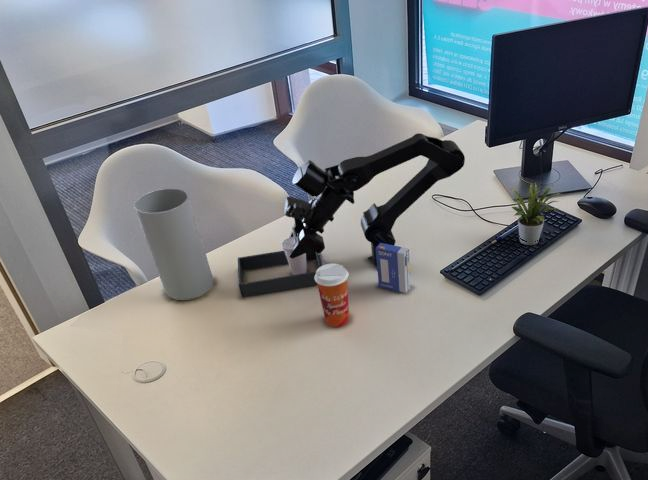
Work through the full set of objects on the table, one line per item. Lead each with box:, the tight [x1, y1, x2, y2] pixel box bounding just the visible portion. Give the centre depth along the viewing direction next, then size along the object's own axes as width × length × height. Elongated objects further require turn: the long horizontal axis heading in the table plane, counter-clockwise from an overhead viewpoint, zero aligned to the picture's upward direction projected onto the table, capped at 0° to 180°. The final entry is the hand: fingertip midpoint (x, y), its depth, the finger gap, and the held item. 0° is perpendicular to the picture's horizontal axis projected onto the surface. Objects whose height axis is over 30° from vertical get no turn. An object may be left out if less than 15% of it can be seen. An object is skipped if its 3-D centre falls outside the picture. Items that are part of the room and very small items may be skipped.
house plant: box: [510, 182, 562, 246], centre depth 166 cm, size 14×14×16 cm
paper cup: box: [314, 263, 350, 328], centre depth 144 cm, size 8×8×14 cm
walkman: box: [376, 243, 412, 294], centre depth 153 cm, size 8×3×12 cm, turn 66°
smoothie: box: [281, 226, 308, 275], centre depth 159 cm, size 6×6×14 cm
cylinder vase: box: [133, 187, 215, 301], centre depth 153 cm, size 12×12×25 cm
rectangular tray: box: [237, 250, 326, 299], centre depth 162 cm, size 22×13×4 cm, turn 103°
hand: (289, 250), depth 159 cm, fingers closed on smoothie, 6 cm apart
